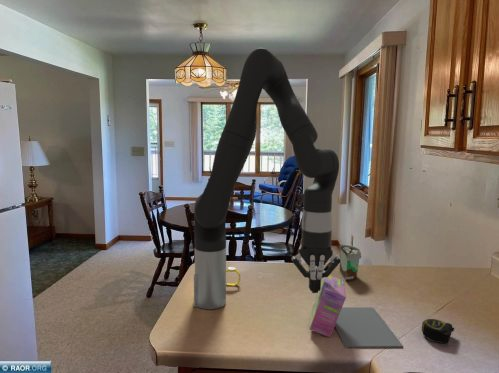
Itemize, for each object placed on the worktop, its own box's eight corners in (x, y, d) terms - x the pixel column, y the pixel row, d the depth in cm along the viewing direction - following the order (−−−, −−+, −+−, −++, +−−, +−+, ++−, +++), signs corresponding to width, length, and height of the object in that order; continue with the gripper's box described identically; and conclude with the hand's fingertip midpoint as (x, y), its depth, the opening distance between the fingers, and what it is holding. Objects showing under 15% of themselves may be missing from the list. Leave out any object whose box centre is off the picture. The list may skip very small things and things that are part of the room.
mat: (345, 347, 90) (345, 346, 90) (325, 308, 109) (326, 307, 109) (403, 347, 90) (403, 345, 90) (373, 308, 110) (373, 307, 110)
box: (331, 338, 94) (346, 296, 91) (309, 329, 95) (323, 288, 92) (330, 318, 104) (344, 280, 102) (310, 311, 105) (324, 273, 102)
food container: (364, 283, 128) (366, 255, 127) (346, 282, 129) (348, 254, 127) (354, 270, 141) (356, 244, 139) (338, 269, 141) (339, 244, 139)
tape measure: (448, 348, 90) (449, 334, 89) (418, 339, 94) (419, 325, 94) (453, 336, 95) (454, 323, 95) (424, 328, 100) (425, 314, 99)
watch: (221, 286, 124) (222, 269, 123) (222, 283, 127) (222, 266, 126) (240, 287, 124) (240, 269, 123) (240, 283, 127) (240, 266, 126)
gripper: (293, 231, 91) (291, 298, 94) (346, 231, 92) (343, 298, 94) (288, 223, 99) (287, 286, 101) (338, 223, 99) (335, 285, 102)
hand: (314, 291), depth 98 cm, fingers closed
